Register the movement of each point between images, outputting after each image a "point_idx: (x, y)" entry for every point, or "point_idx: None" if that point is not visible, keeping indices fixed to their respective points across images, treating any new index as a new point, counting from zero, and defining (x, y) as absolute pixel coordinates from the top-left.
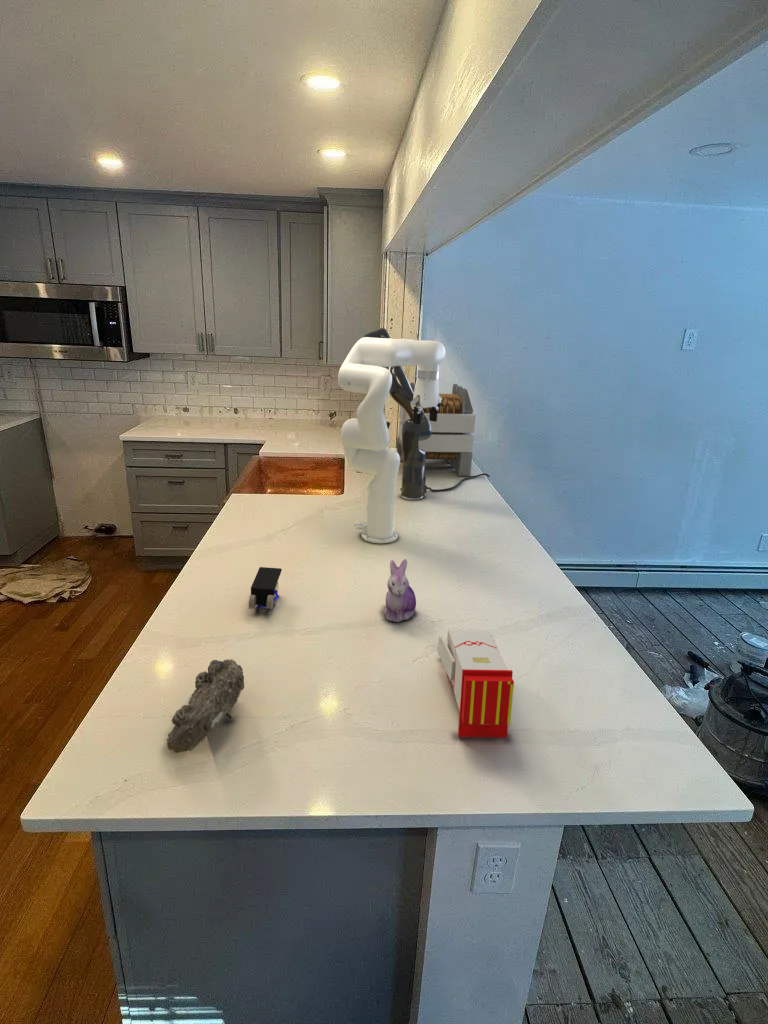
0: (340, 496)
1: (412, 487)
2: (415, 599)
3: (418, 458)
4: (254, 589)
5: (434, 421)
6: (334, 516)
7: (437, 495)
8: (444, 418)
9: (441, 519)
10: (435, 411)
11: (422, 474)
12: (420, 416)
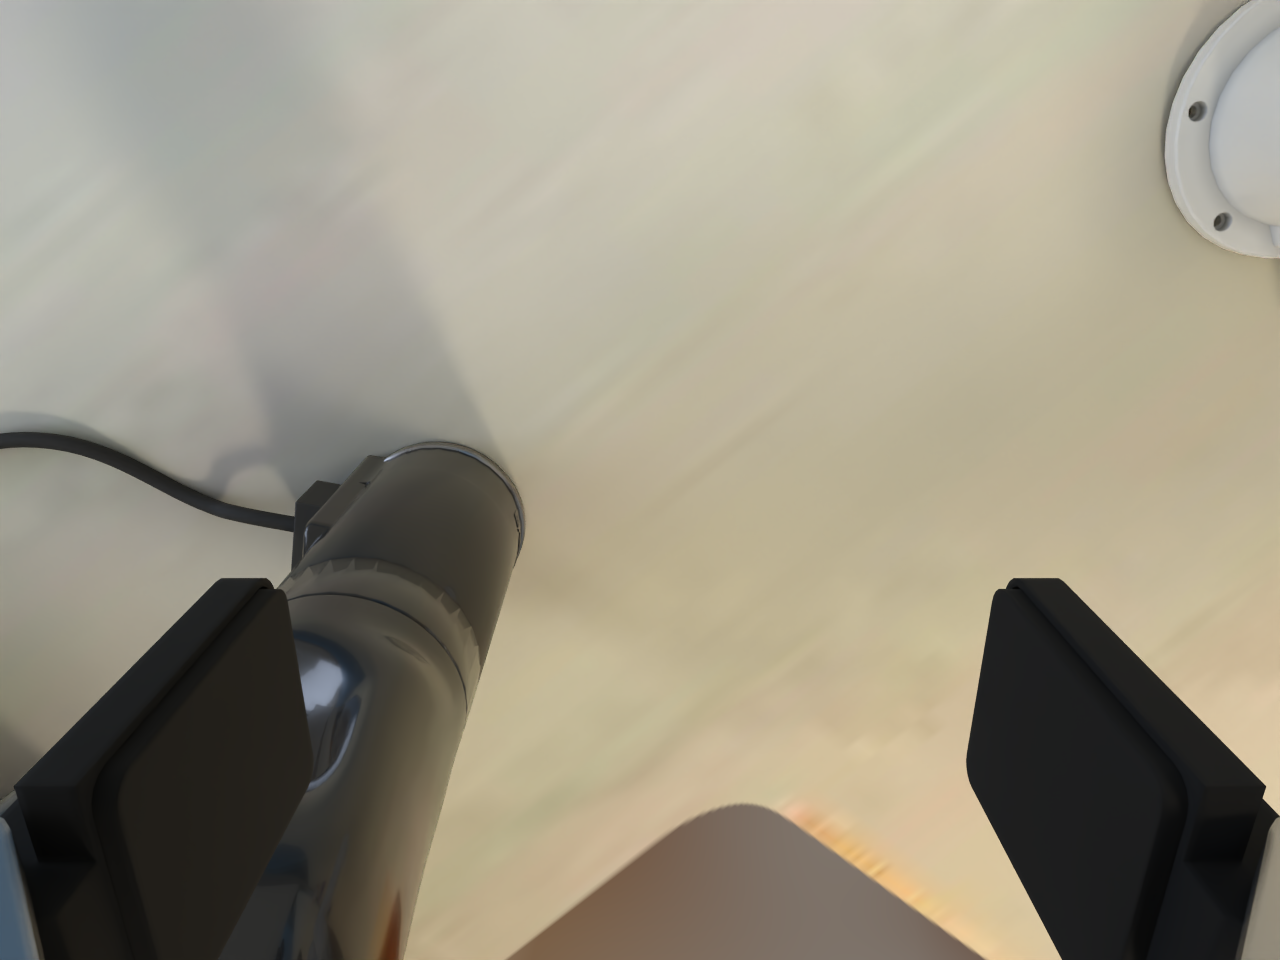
0: (810, 801)
1: (485, 510)
2: None
3: (388, 616)
4: None
5: (275, 617)
6: (1139, 585)
7: (245, 420)
8: None
9: (661, 30)
10: (113, 819)
11: (371, 522)
12: (1179, 716)
